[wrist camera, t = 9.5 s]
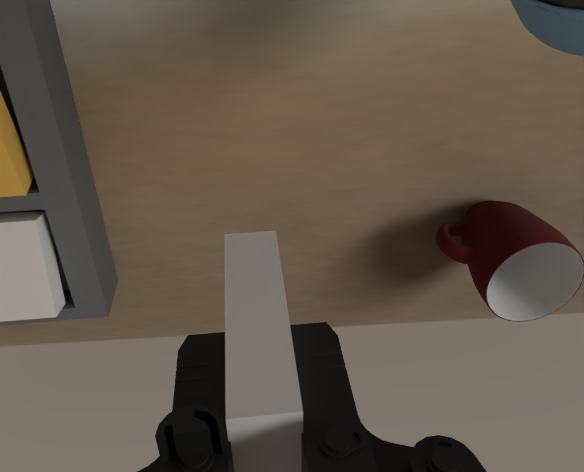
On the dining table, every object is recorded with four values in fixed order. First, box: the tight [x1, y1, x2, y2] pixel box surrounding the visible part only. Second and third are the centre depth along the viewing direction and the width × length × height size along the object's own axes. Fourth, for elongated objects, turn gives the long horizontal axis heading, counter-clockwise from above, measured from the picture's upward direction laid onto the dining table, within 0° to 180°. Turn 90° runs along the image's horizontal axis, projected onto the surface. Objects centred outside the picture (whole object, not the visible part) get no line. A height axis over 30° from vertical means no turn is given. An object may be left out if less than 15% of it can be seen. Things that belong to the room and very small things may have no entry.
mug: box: [436, 201, 584, 322], centre depth 47 cm, size 11×8×10 cm
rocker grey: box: [0, 211, 65, 322], centre depth 42 cm, size 8×5×2 cm, turn 1°
